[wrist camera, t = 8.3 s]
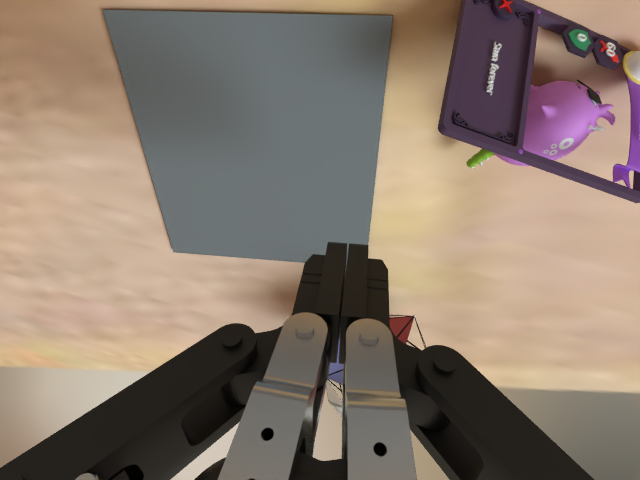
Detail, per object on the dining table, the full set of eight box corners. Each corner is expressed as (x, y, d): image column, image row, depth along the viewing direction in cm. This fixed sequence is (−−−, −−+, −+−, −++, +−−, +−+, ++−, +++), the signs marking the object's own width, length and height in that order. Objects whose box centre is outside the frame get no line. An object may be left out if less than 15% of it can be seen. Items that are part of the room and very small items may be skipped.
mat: (392, 15, 16) (392, 15, 15) (365, 265, 24) (365, 267, 24) (105, 9, 17) (102, 9, 17) (174, 250, 25) (173, 252, 25)
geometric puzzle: (371, 266, 24) (371, 374, 18) (449, 312, 26) (476, 426, 19) (313, 323, 28) (296, 428, 22) (385, 359, 30) (388, 467, 23)
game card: (482, -40, 14) (676, 45, 15) (418, 53, 19) (567, 111, 20) (454, 116, 12) (672, 196, 13) (392, 172, 17) (556, 226, 19)
